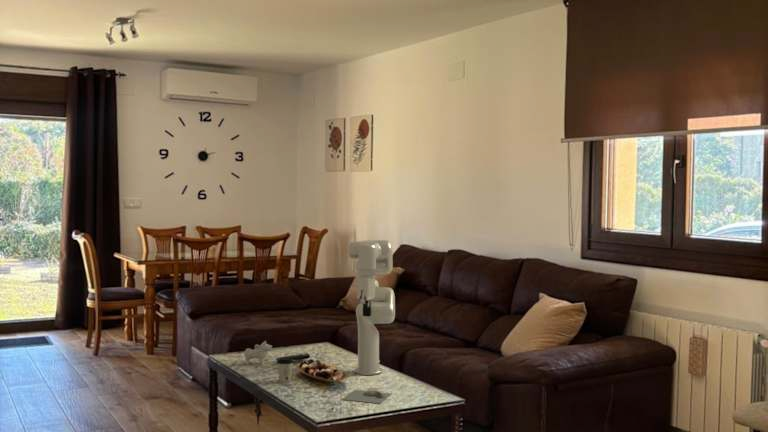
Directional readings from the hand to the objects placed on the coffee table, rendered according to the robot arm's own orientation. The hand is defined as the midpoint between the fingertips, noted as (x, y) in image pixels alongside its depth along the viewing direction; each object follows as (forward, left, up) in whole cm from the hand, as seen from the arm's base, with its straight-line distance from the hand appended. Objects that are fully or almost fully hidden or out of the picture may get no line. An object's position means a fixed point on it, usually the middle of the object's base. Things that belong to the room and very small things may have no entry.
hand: (367, 315), depth 323 cm
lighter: (+12, +8, -28) cm, 31 cm away
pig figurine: (-14, -60, -29) cm, 68 cm away
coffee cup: (+9, -34, -29) cm, 46 cm away
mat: (+19, +7, -29) cm, 35 cm away
